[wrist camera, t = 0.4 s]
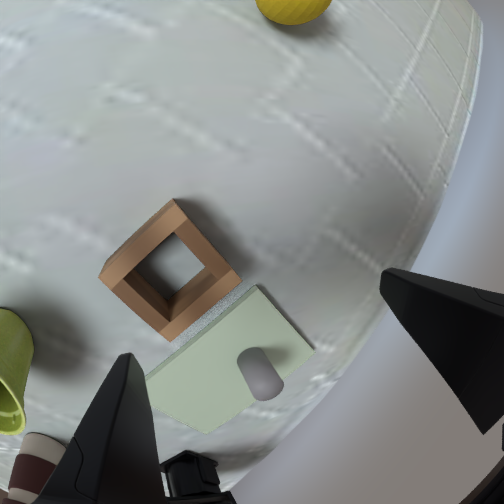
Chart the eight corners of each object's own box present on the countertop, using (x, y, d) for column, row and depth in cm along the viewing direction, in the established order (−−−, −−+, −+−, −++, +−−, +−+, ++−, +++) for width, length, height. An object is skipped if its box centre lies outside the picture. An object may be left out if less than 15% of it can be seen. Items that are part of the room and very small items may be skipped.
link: (167, 318, 22) (170, 342, 19) (106, 260, 19) (98, 277, 16) (229, 264, 23) (242, 280, 19) (172, 198, 20) (175, 204, 16)
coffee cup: (7, 416, 18) (-14, 508, 5) (73, 435, 22) (71, 539, 8) (27, 455, 20) (20, 533, 7) (86, 470, 24) (91, 554, 10)
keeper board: (205, 429, 27) (216, 464, 23) (130, 388, 23) (131, 428, 18) (312, 348, 29) (338, 377, 24) (255, 284, 24) (280, 313, 19)
